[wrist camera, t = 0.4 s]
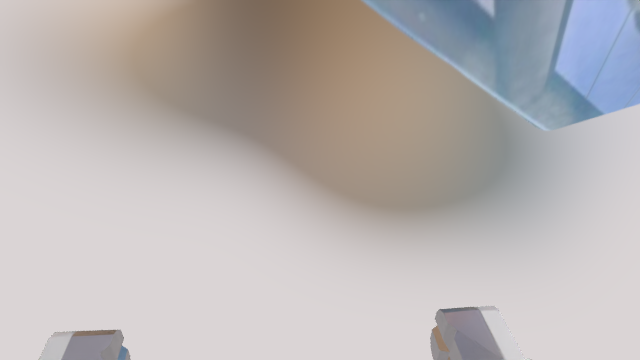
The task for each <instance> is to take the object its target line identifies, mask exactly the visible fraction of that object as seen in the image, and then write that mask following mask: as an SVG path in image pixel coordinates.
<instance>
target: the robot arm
mask: <svg viewBox="0 0 640 360" xmlns="http://www.w3.org/2000/svg"><path fill="white" fill-rule="evenodd" d="M435 320H436V322H437V326H436V327H435V328H433V329H432V333H431V338H430V339H431V351H432V356H433V359H434V360H532V359H525V358H524V356H523V354H522V352H521V350H520V349H519V347H518V345H517V343H516V341H515V339H514V338H513V336H512V334H511V332H510V331H509V328H508V327H507V325H506V323H505V321H504V319H503V318H502V316H501V314H500V312H499V310H498V309H497V308H496V307H495V306H485V307H464V308H452V309H440V310H438V311H437V313H436V317H435ZM123 339H124V337H123V335H122V332H121V330H99V331H72V332H55V333H54V334H53V335H52V336H51V337H50V338H49V339H48V341H47V344H46V345H45V348H44V350H43V352H42V354H41V356H40V358H39V360H130V355H129V351H128V349H126V348H125V347H123V346H122V343H123Z"/></svg>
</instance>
